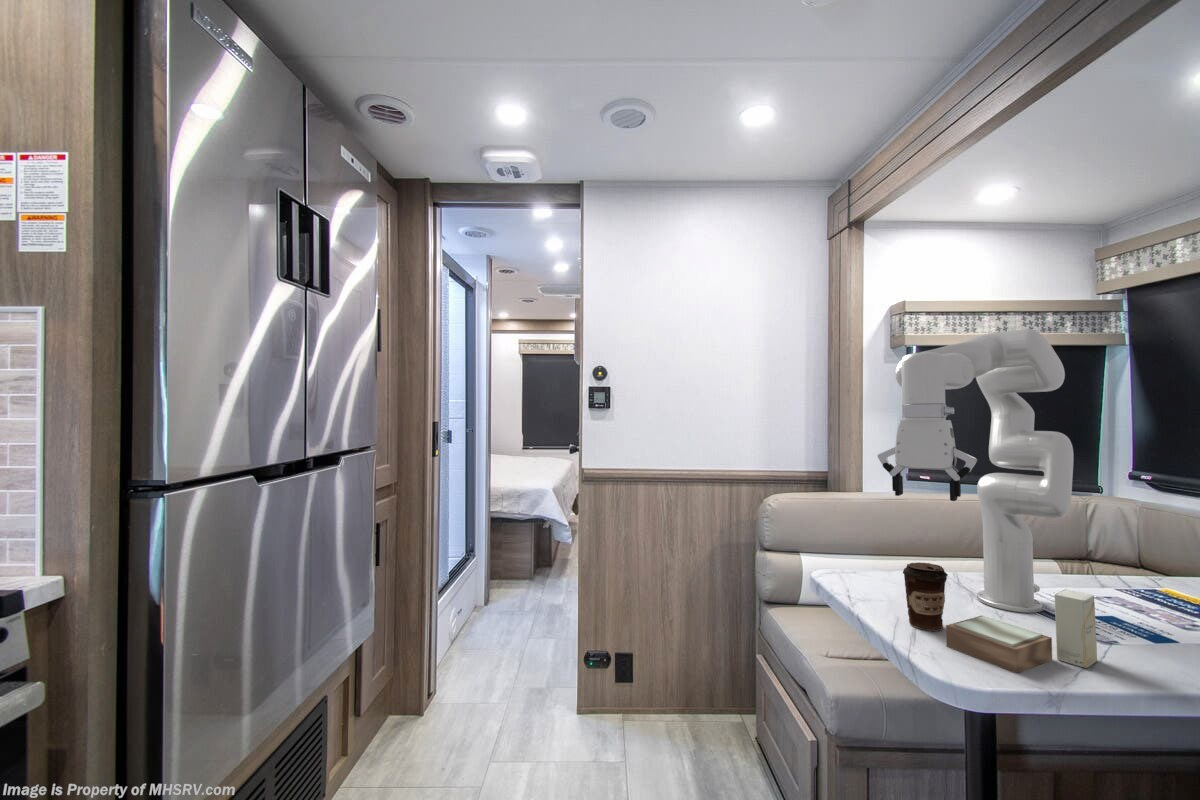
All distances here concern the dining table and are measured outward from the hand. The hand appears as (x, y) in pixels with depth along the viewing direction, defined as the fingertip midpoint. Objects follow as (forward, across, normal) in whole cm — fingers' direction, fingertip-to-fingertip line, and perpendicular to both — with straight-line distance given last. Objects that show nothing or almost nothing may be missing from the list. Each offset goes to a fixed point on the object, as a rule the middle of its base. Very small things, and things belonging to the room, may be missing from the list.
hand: (925, 497), depth 105 cm
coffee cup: (+29, +2, -9) cm, 31 cm away
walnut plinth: (+29, -11, -4) cm, 31 cm away
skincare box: (+29, -22, -10) cm, 38 cm away
